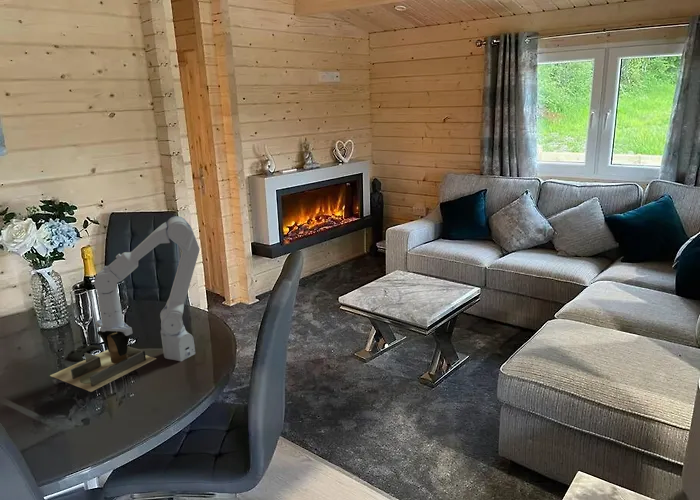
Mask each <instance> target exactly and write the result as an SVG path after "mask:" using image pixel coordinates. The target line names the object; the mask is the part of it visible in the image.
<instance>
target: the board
mask: <svg viewBox="0 0 700 500" xmlns="http://www.w3.org/2000/svg"><path fill="white" fill-rule="evenodd" d="M95 356H98V357H100V361H101V367H99V368H97V369H95V370H93V371H90V372H88V373H86V374H84V375H82V376H80V377H78V378H76V379H72V374H71V369H73V368H75V367H77V366H79V365H82V364H84V363H86V360H85V359H84V360H83V361H80V362H77V363H75V364H73V365H70V366H68V367H65V368H63V369H61V370H59V371H57V372H55V373H52V374H50V375H49V377H51V378H55V379H57V380H60V381H62V382H64V383H67V384H69V385H72V386H75V387H77V388H80V389H82V390H85V391H88V392H90V393H92V392H94V391H95V390H98V389H100V388H101V387H104V386H106V385H108V384H110V383H112V382H113V381H115V380H118V379H119V378H122V377H123V376H125V375H127V374H129V373H132V372H133V371H135V370H137V369H140V368H141V367H143V366H145V365H147V364H149V363H151V362H153V361H155V360H157V358H156V357H153V356H149V355H147V354H145V357H146V360H145V361H143V362H141V363H139V364H137V365H135V366H133V367H131V368H129V369H127V370H125V371H123V372H121V373H119V374H117V375H115V376H113V377H111V378H109V379H107V380H105V381H103V382H101V383H99V384H97V385H95V386H93V387H92V386H91V381H90V376H92V375H94V374H96V373H98V372H100V371H102V370H104V369H106V368H108V367H110V366H112V365H115V364H117V363H112V362H111V357H110V352H109V351H108V349H106V350H104V351H102V352H100V353H97V354H95ZM129 357H131V356H127V358H129Z"/></svg>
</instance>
